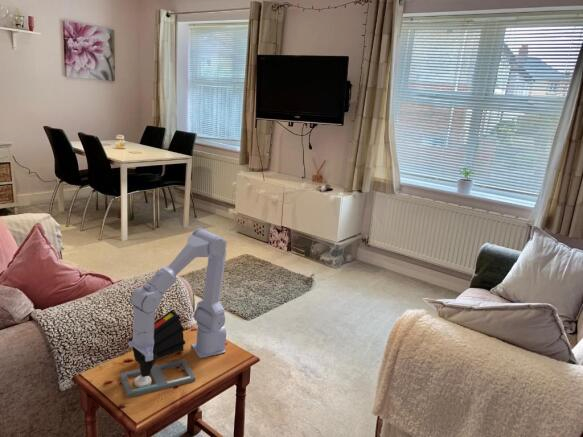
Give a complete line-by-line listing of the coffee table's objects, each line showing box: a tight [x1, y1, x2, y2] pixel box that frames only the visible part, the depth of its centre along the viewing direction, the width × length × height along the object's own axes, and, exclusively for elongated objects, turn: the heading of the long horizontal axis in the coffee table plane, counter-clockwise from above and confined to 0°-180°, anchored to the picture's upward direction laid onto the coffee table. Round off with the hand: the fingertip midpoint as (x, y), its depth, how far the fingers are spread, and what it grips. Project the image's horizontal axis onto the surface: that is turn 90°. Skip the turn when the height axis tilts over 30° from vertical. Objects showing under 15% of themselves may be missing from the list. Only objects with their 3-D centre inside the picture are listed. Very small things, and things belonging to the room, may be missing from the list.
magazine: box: [153, 309, 186, 360], centre depth 142 cm, size 4×13×15 cm, turn 133°
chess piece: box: [134, 375, 153, 388], centre depth 128 cm, size 5×5×10 cm
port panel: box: [119, 358, 196, 398], centre depth 132 cm, size 20×10×1 cm, turn 122°
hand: (142, 367), depth 128 cm, fingers open, 7 cm apart
